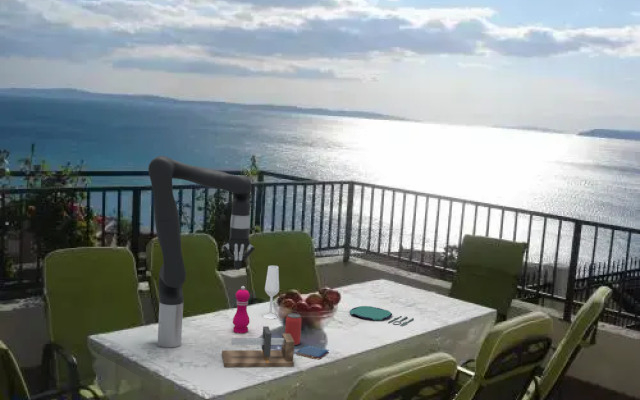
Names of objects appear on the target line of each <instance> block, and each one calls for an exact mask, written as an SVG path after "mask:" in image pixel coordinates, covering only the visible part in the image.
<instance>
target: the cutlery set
mask: <svg viewBox="0 0 640 400" xmlns="http://www.w3.org/2000/svg"><path fill="white" fill-rule="evenodd" d="M349 314H350V315H354V316H355V317H359V318H362V319H368V320H373V321H381V320H386V319H390V317H392V316H393V313H392V312H391V311H390V310H388V309H383V308H380V307H376V306H370V305H368V306H367V305H361V306H360V305H359V306H357V307H353V308H352V309H350V310H349ZM400 318H401V319H400ZM398 319H400V320H398ZM406 319H408V316H404V317H403V318H402V315H400V316H397V317H395V318H393V319H391V320H389V321H387V323H388V324H390V323H392V324H393V325H398V326H400V327H405V326H407V325H408V324H409V323H411V322H412V321H414V319H415V318H414V317H412V318H411V319H409V320H408V321H404V320H406ZM403 321H404V322H403Z"/></svg>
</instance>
